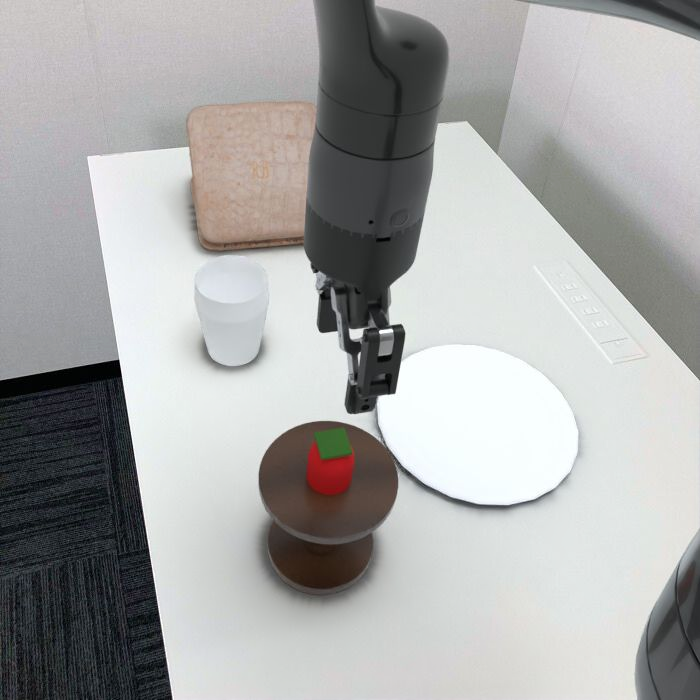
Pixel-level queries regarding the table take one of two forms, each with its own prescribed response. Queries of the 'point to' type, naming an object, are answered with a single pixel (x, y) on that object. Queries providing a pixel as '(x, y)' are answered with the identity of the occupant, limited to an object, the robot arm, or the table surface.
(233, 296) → the cup
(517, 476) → the plate
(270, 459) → the stand
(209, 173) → the case
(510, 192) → the table surface
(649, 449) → the table surface
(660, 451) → the table surface
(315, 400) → the table surface
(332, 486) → the strawberry
